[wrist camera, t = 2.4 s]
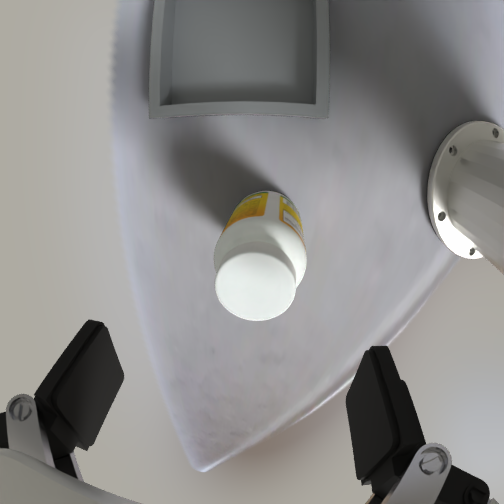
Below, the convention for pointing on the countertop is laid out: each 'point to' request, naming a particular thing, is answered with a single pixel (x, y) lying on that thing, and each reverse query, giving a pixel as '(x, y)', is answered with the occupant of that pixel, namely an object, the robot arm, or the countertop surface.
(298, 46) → the tray
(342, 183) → the countertop surface
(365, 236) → the countertop surface
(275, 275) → the supplement bottle
